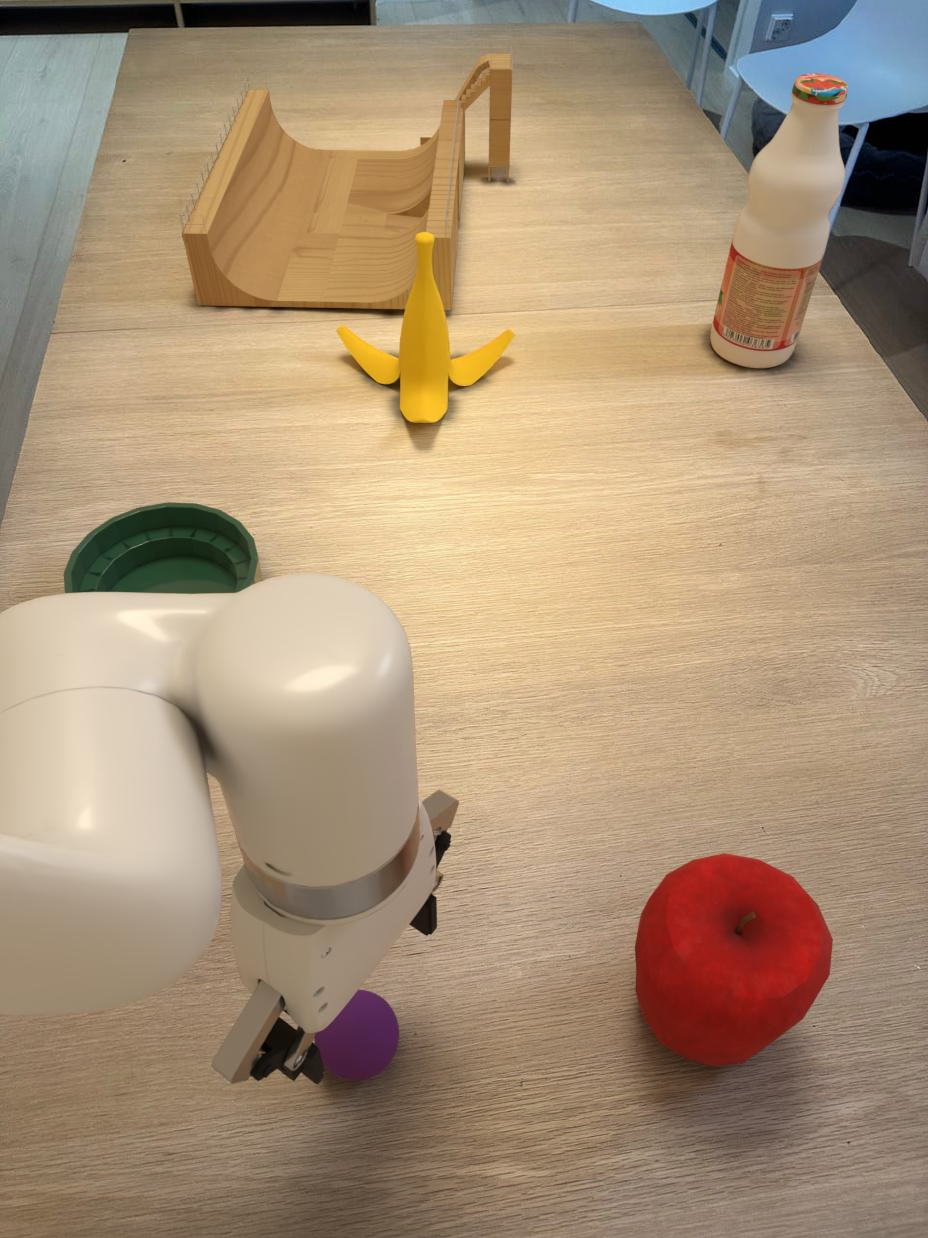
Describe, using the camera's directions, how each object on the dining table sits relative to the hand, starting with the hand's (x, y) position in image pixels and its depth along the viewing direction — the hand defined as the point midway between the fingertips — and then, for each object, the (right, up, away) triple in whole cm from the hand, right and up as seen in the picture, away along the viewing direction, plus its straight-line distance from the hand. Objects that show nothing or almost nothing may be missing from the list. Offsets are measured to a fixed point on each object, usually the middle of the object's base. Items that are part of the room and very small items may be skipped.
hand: (357, 987), depth 55 cm
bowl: (-19, +21, +31) cm, 42 cm away
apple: (+21, -5, +9) cm, 23 cm away
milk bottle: (+38, +50, +59) cm, 87 cm away
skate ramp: (-6, +70, +75) cm, 103 cm away
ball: (-1, -5, +5) cm, 7 cm away
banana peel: (+2, +43, +51) cm, 67 cm away
